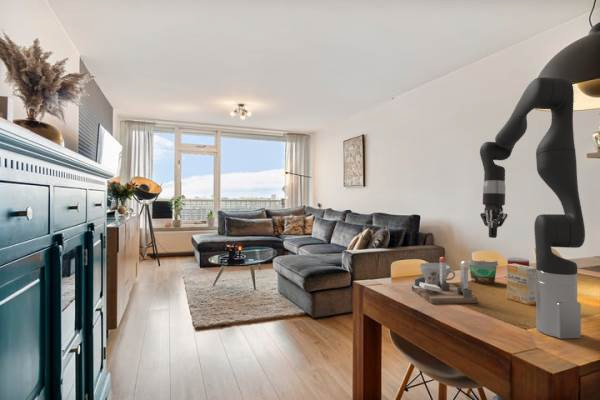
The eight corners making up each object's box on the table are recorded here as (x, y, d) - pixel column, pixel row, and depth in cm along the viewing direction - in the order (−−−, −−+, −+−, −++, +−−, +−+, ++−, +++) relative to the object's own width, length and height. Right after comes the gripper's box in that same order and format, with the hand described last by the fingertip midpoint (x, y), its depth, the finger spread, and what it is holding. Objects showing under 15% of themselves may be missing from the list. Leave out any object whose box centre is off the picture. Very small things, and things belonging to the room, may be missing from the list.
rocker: (440, 291, 126) (440, 288, 126) (423, 288, 126) (424, 284, 126) (434, 288, 131) (435, 285, 131) (419, 285, 130) (419, 282, 130)
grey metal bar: (470, 296, 122) (469, 261, 122) (463, 296, 122) (462, 262, 122) (465, 293, 125) (465, 260, 125) (458, 293, 125) (458, 260, 125)
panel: (477, 302, 121) (477, 290, 121) (430, 303, 120) (430, 291, 120) (451, 288, 140) (450, 277, 140) (410, 289, 140) (410, 278, 140)
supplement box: (506, 298, 125) (505, 264, 125) (515, 297, 127) (514, 263, 127) (527, 305, 118) (527, 268, 118) (537, 303, 119) (536, 267, 119)
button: (426, 286, 135) (426, 278, 135) (417, 286, 135) (417, 278, 135) (422, 283, 139) (422, 276, 139) (413, 283, 139) (413, 276, 139)
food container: (471, 284, 147) (471, 261, 147) (467, 280, 153) (467, 259, 153) (502, 285, 144) (502, 262, 144) (497, 282, 150) (497, 260, 150)
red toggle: (448, 289, 131) (447, 257, 131) (441, 289, 131) (441, 257, 131) (444, 287, 134) (444, 256, 134) (438, 287, 134) (437, 256, 134)
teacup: (415, 283, 149) (414, 265, 149) (426, 278, 158) (425, 261, 158) (450, 289, 139) (449, 270, 139) (459, 283, 148) (459, 265, 148)
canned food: (532, 286, 143) (532, 260, 142) (511, 285, 144) (511, 260, 144) (524, 282, 150) (524, 257, 150) (504, 281, 152) (504, 257, 152)
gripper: (515, 192, 123) (514, 239, 123) (491, 194, 137) (490, 236, 136) (496, 191, 123) (495, 238, 122) (474, 193, 136) (472, 235, 135)
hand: (492, 237), depth 129 cm, fingers closed
